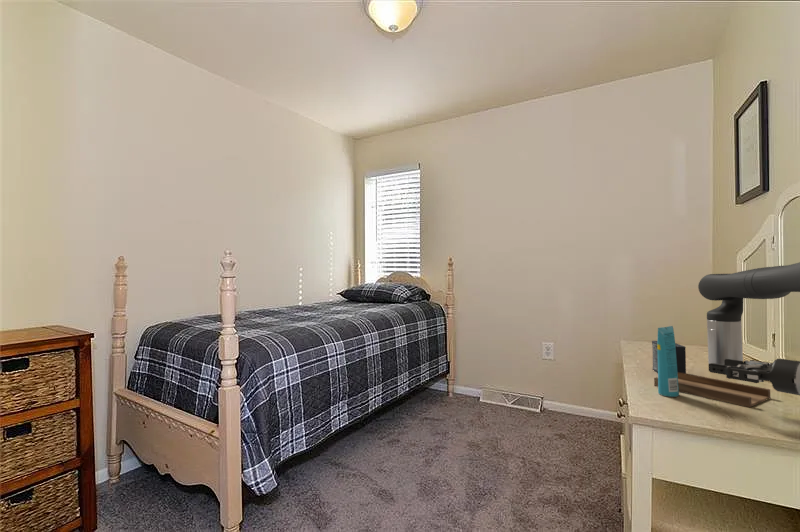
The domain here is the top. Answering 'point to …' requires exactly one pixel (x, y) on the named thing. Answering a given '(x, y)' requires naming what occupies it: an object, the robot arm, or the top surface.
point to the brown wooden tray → (721, 390)
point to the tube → (667, 363)
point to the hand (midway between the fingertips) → (717, 365)
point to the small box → (679, 356)
